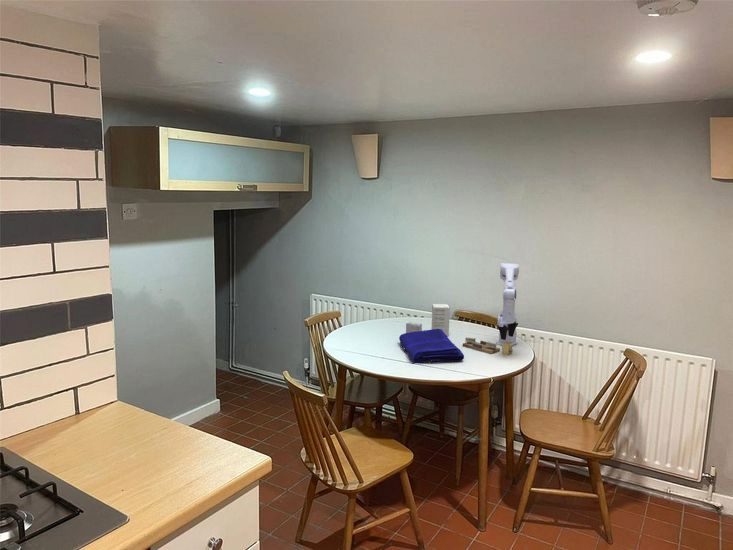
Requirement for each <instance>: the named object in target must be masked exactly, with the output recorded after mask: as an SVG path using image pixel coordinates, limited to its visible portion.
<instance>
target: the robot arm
mask: <svg viewBox="0 0 733 550" xmlns="http://www.w3.org/2000/svg"><path fill="white" fill-rule="evenodd" d="M499 272H500V273H499V277H500V279H501V280H503V290H502V310H500V311H499V312H498V314H497V325H496V326H497V329H498V330H499V334H498V335H499V336H498V341H497V342H495V343H496V345H499V346H503V342H506V341H508V342H512V343H513V346H514V345H517V344H518V342H517V327H518V325H519V322H517V321H518V319H517V313H516V311H515V309H516V300H517V287H516V280H518V278H519V274H520V264H519V263H508V262H507V263H506V262H505V263H503V262H501V263H500V266H499Z"/></svg>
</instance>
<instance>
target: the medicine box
mask: <svg viewBox="0 0 733 550" xmlns="http://www.w3.org/2000/svg"><path fill="white" fill-rule="evenodd" d="M415 331H423V324H422V323H420V322H413V321H408V322H407V323H405V333H409V332H415Z"/></svg>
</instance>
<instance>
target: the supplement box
mask: <svg viewBox="0 0 733 550" xmlns="http://www.w3.org/2000/svg"><path fill="white" fill-rule="evenodd" d="M431 305H432V306H431V330H432V329H442V330H443V332H444V333H445V334H446V335H447V336H448V337H449V335H450V314H451V312H450V309H451V308H450V306H449V305H448V303H433V304H431Z"/></svg>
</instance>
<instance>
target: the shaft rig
mask: <svg viewBox="0 0 733 550" xmlns="http://www.w3.org/2000/svg"><path fill="white" fill-rule="evenodd" d="M464 340H465V341H464V343H462V347H464V348H467V349H470V350H471V349H472V350H475V351H478V352H481V353H485V354H488V355H493V354H495V353H499V352H501V348H500V347H497V344H496V342H492V341H484V340H480V342H478V341H476V337H468V336H466V337H465V338H464Z"/></svg>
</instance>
